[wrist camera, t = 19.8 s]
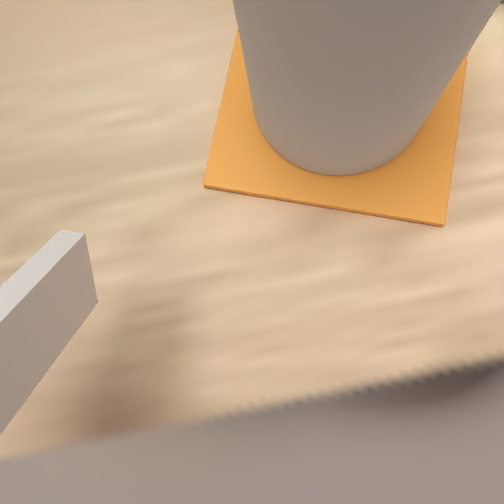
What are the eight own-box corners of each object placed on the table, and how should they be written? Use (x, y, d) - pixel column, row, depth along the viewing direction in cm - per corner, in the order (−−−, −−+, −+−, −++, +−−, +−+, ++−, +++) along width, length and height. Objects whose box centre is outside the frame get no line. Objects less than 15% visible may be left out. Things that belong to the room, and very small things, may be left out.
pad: (204, 187, 21) (202, 183, 20) (249, -15, 22) (248, -23, 22) (441, 226, 19) (445, 223, 19) (471, 8, 21) (475, 0, 21)
